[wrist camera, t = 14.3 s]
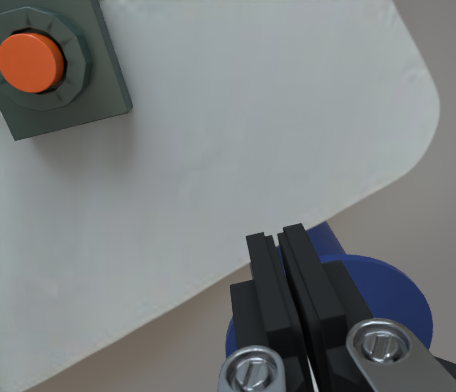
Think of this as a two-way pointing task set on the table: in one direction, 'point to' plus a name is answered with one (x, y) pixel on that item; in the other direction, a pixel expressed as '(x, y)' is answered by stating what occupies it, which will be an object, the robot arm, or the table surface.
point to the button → (31, 62)
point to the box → (73, 68)
